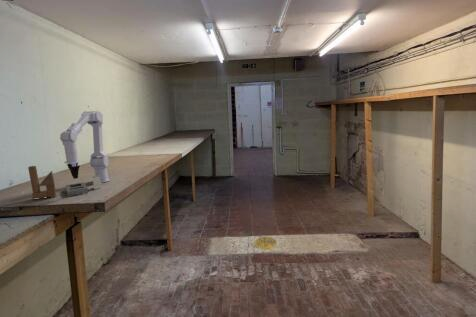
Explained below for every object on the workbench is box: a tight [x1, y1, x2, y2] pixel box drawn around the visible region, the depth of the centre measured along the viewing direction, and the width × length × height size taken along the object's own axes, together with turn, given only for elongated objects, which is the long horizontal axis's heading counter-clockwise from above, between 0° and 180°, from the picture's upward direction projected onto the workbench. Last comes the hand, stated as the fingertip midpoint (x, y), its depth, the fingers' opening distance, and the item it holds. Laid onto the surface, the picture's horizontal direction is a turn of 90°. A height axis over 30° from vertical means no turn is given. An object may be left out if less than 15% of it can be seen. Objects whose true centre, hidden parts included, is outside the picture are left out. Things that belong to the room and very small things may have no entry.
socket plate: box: [65, 181, 89, 197], centre depth 191 cm, size 16×10×3 cm, turn 31°
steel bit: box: [91, 175, 102, 190], centre depth 196 cm, size 4×4×7 cm
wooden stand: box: [27, 165, 57, 200], centre depth 181 cm, size 4×11×18 cm, turn 107°
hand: (75, 177), depth 186 cm, fingers open, 7 cm apart
